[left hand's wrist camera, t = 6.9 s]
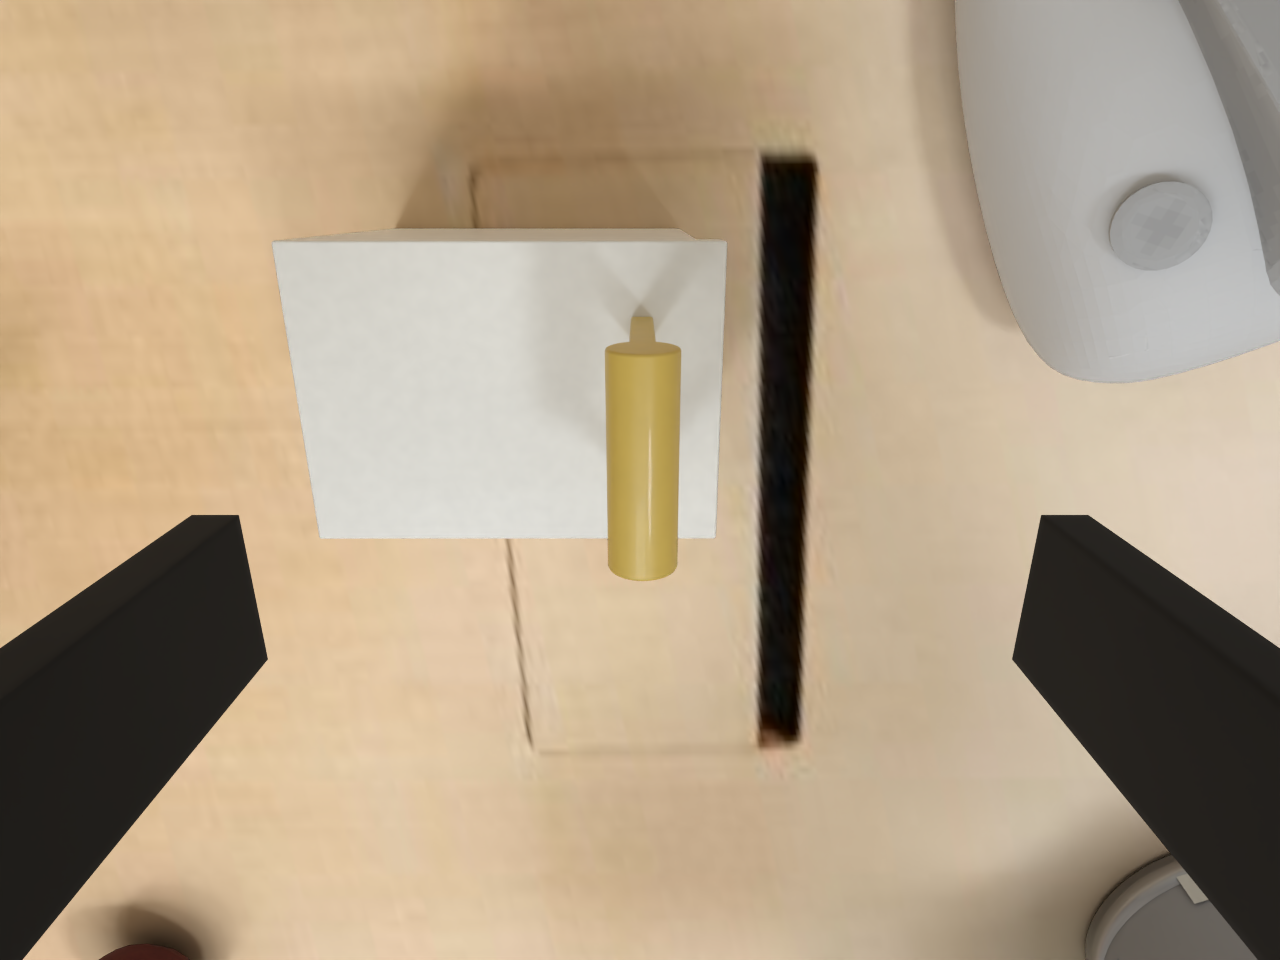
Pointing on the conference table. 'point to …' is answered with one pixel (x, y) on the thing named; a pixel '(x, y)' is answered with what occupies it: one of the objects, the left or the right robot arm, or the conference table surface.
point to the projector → (1128, 176)
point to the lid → (511, 388)
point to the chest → (514, 233)
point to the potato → (144, 953)
